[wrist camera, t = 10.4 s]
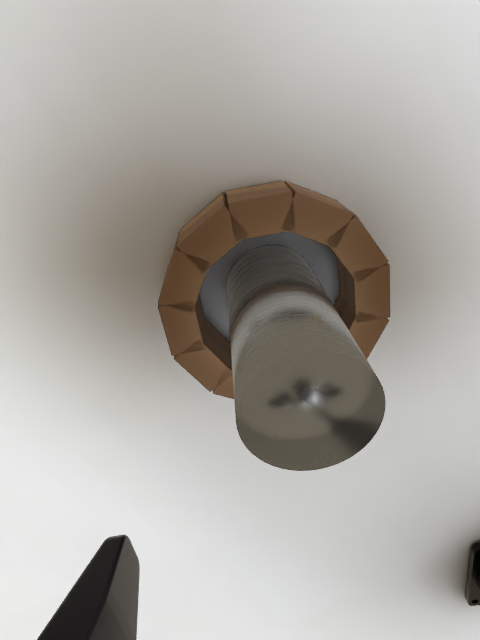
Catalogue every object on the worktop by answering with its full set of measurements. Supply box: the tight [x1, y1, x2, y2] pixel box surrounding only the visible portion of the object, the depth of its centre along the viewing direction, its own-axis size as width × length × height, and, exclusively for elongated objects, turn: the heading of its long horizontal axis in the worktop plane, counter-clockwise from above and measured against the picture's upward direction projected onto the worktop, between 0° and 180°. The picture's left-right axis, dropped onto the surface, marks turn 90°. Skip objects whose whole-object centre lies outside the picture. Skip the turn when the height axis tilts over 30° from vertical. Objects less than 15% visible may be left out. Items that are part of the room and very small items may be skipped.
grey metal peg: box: [226, 245, 385, 471], centre depth 15 cm, size 4×4×9 cm
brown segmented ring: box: [158, 181, 390, 399], centre depth 18 cm, size 9×9×2 cm
